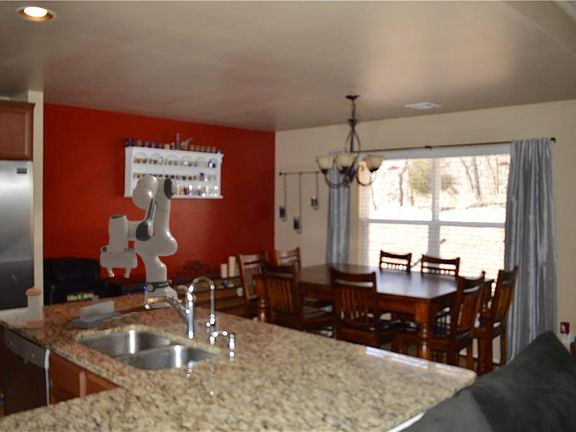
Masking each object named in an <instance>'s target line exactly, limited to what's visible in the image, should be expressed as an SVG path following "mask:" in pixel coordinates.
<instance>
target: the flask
mask: <svg viewBox="0 0 576 432" xmlns="http://www.w3.org/2000/svg"><path fill="white" fill-rule="evenodd" d="M99 297H100V296H99V295H92V296H91V298H92V302H91V305H94V304H98V303H100V302H99Z"/></svg>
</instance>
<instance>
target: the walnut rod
mask: <svg viewBox="0 0 576 432" xmlns="http://www.w3.org/2000/svg"><path fill="white" fill-rule="evenodd" d="M137 321H140V312H137V311H132V312H129V313H125V314H121V315H120V316H117V317H113V318H109V319H106V320H102V325H101V326H102V329H105V330H111V329H114V328H117V327H118V328H119V327H121V326H124V325H128V324H131V323H134V322H137Z"/></svg>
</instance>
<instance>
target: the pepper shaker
mask: <svg viewBox="0 0 576 432" xmlns="http://www.w3.org/2000/svg"><path fill="white" fill-rule="evenodd" d="M42 293H43V291H42V289H40V288H39V287H38V288H37V287H35V286H32V287H31V288H28V289H27V290H26V292H25V295H26V296H27V311H26V317H27V318H26V319H27V320H26V328H27V329H39V328H43V327H44V318H43V308H42V304H41V295H42Z"/></svg>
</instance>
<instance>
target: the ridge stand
mask: <svg viewBox="0 0 576 432" xmlns="http://www.w3.org/2000/svg"><path fill="white" fill-rule="evenodd" d="M114 302H115V301H114V300H106V301H103V302H99V303H98V304H94V305H92V304H91V305H87V306H84V307H80V308H79V318H78V319H74V320H72V328H77V327H79V329H86V328H88V329H89V328H90V329H93V328H95V327H99V326H102V320H106V319H109V318H113V317H117V316H120V315H122V312H116V311H115V303H114ZM92 327H93V328H92ZM88 329H87V330H88Z"/></svg>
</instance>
